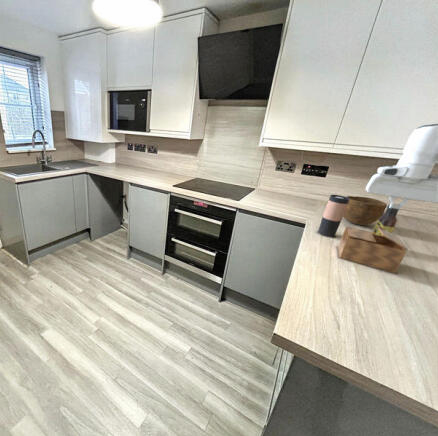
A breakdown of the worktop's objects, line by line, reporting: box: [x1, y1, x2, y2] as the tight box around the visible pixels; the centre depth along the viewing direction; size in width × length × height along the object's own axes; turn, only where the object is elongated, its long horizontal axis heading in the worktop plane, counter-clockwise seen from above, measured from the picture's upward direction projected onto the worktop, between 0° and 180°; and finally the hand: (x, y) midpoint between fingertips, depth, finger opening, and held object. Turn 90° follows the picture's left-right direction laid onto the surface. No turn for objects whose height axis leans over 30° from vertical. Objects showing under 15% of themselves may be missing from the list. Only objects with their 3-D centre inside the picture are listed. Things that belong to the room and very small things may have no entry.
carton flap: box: [377, 225, 408, 251], centre depth 91 cm, size 8×13×1 cm, turn 144°
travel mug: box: [317, 194, 349, 238], centre depth 117 cm, size 8×8×20 cm
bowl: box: [343, 195, 388, 226], centre depth 137 cm, size 19×19×15 cm
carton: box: [337, 226, 408, 274], centre depth 96 cm, size 17×13×10 cm
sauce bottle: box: [371, 203, 399, 236], centre depth 109 cm, size 6×6×20 cm
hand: (394, 208), depth 89 cm, fingers closed
